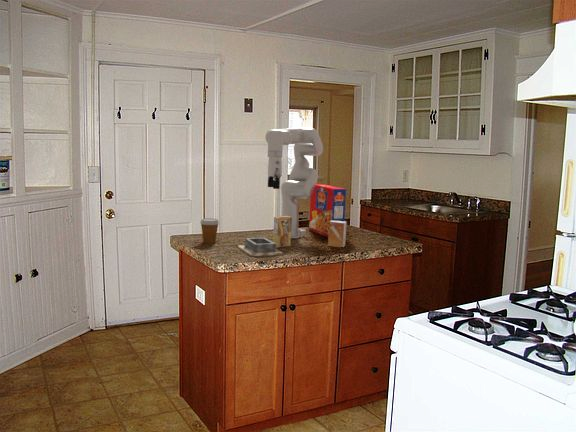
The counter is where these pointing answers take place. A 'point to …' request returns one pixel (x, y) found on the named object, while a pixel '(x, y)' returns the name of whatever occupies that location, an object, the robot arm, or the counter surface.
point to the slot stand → (259, 247)
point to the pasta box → (326, 207)
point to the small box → (337, 233)
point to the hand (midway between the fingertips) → (273, 187)
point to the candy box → (282, 231)
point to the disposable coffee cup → (209, 230)
